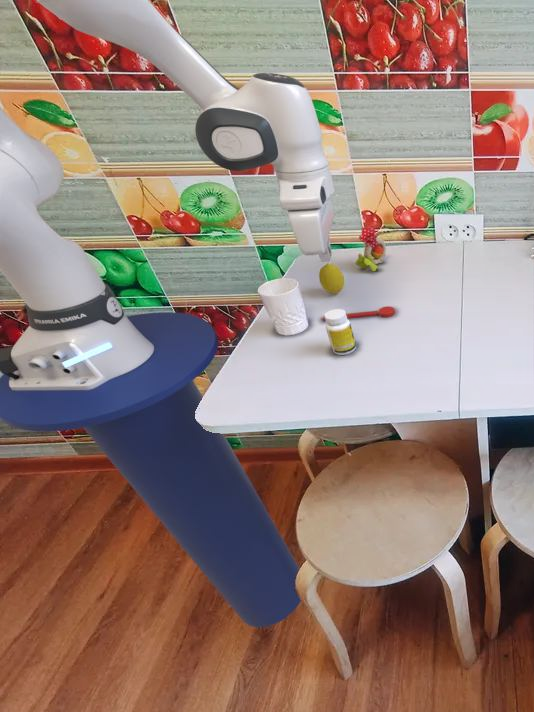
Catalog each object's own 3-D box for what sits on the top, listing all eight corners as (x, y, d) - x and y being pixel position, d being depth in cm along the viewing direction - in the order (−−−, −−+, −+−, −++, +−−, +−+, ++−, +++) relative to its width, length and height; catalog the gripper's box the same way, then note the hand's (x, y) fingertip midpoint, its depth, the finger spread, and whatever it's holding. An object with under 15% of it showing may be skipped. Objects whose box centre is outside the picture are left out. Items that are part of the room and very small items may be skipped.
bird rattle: (372, 268, 130) (349, 267, 122) (375, 227, 127) (352, 224, 119) (390, 272, 128) (368, 272, 120) (394, 231, 125) (371, 228, 117)
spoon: (323, 323, 104) (322, 320, 103) (325, 315, 107) (324, 312, 106) (395, 316, 106) (394, 313, 106) (394, 308, 109) (394, 305, 108)
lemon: (328, 288, 117) (320, 258, 112) (350, 289, 117) (342, 258, 111) (320, 299, 112) (311, 268, 107) (343, 299, 112) (335, 269, 107)
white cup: (278, 341, 98) (261, 299, 92) (270, 325, 104) (254, 284, 97) (315, 330, 102) (302, 289, 95) (306, 314, 107) (292, 274, 101)
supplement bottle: (360, 349, 96) (351, 313, 91) (340, 358, 94) (329, 322, 88) (349, 340, 99) (339, 305, 93) (328, 349, 96) (317, 313, 91)
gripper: (296, 169, 89) (316, 239, 98) (277, 203, 73) (302, 283, 82) (331, 167, 90) (347, 236, 99) (318, 200, 74) (339, 279, 83)
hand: (326, 258), depth 90 cm, fingers closed
